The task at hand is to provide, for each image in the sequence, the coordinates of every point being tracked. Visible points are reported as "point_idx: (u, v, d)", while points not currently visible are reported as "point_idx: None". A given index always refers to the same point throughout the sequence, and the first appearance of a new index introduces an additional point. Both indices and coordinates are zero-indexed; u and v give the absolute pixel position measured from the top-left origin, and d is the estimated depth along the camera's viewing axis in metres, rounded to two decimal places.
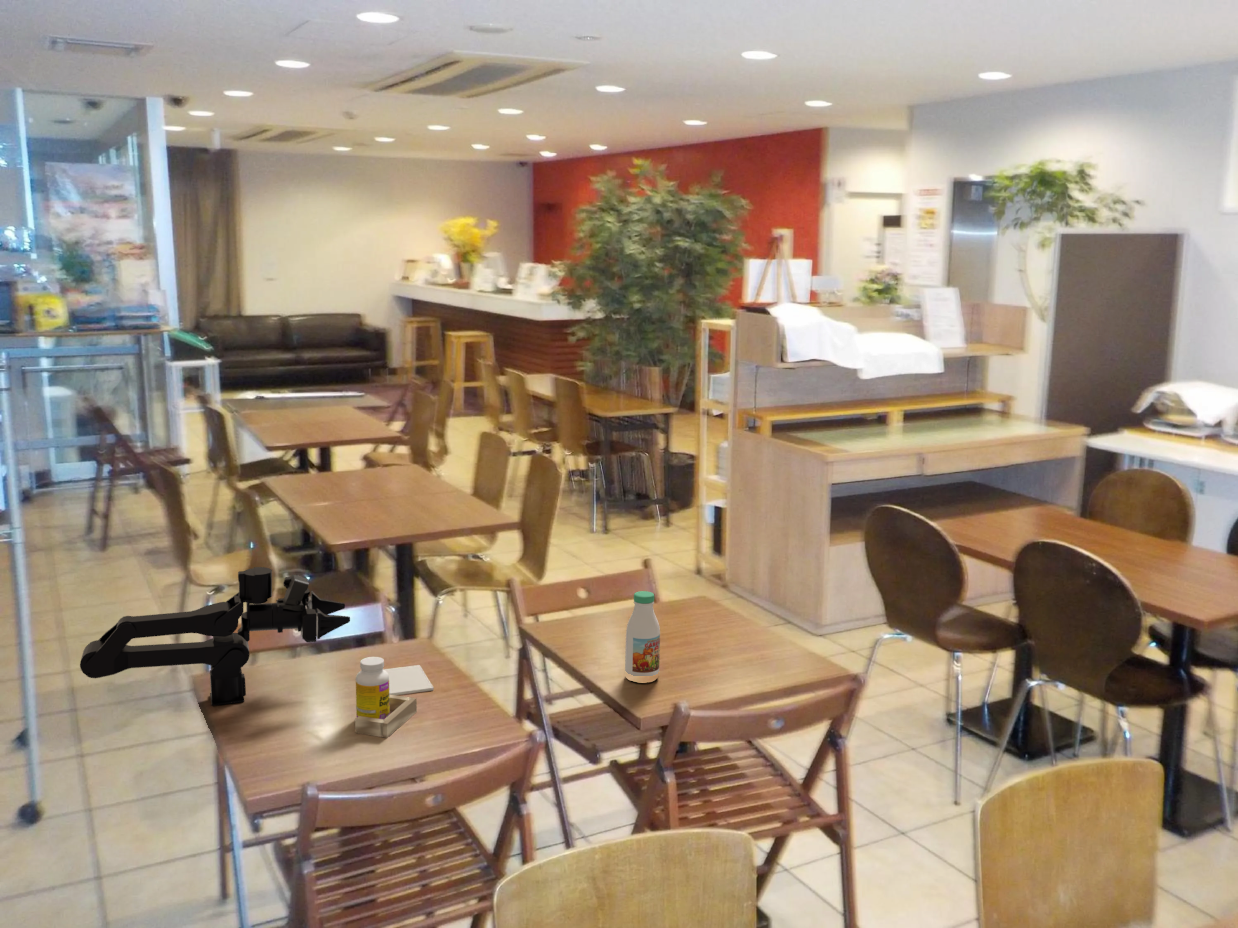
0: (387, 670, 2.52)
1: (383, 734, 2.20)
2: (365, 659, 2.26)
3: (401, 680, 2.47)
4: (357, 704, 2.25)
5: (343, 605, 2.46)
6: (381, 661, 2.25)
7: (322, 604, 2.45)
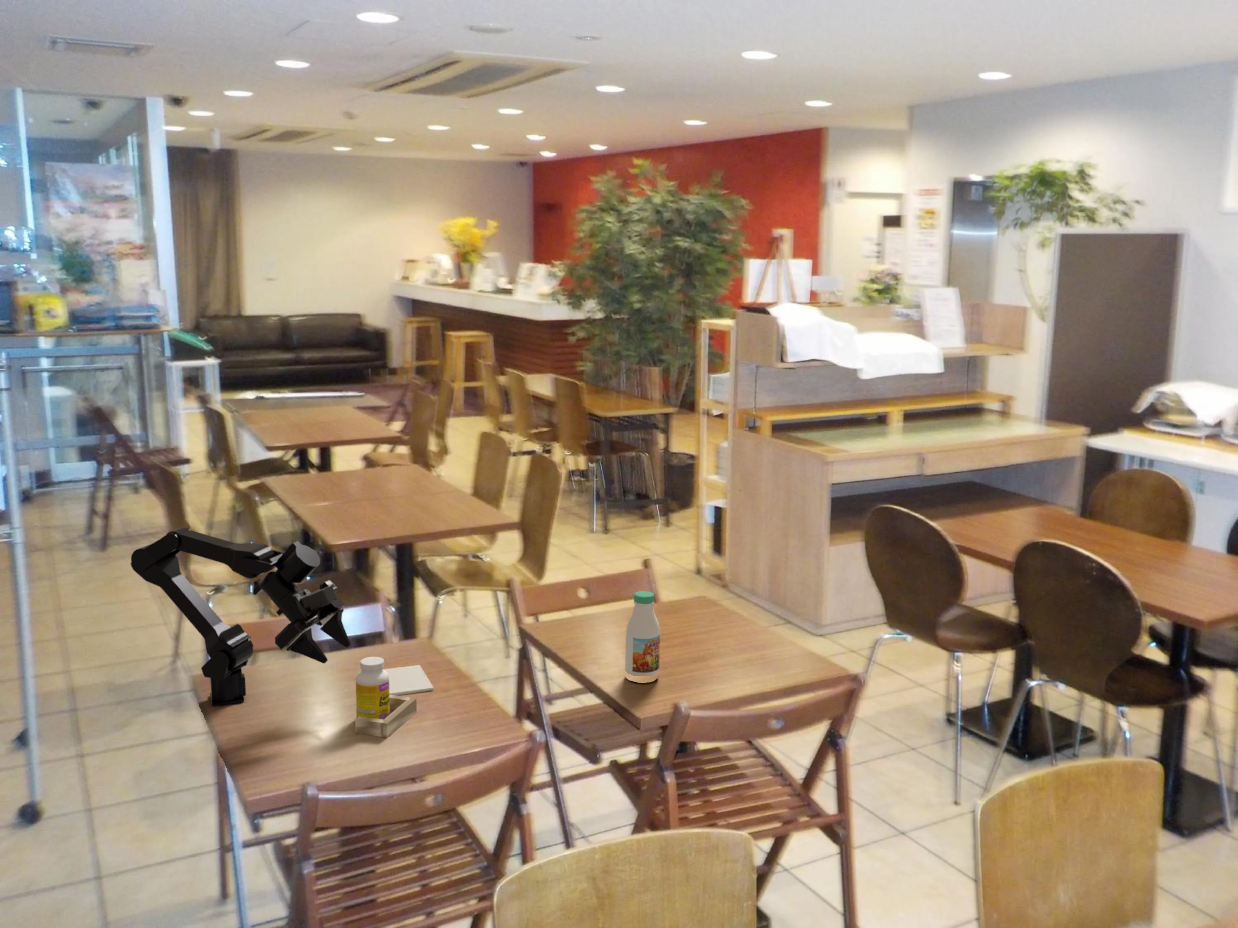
0: (387, 670, 2.52)
1: (383, 734, 2.20)
2: (365, 659, 2.26)
3: (401, 680, 2.47)
4: (357, 704, 2.25)
5: (348, 645, 2.31)
6: (381, 661, 2.25)
7: (336, 627, 2.32)
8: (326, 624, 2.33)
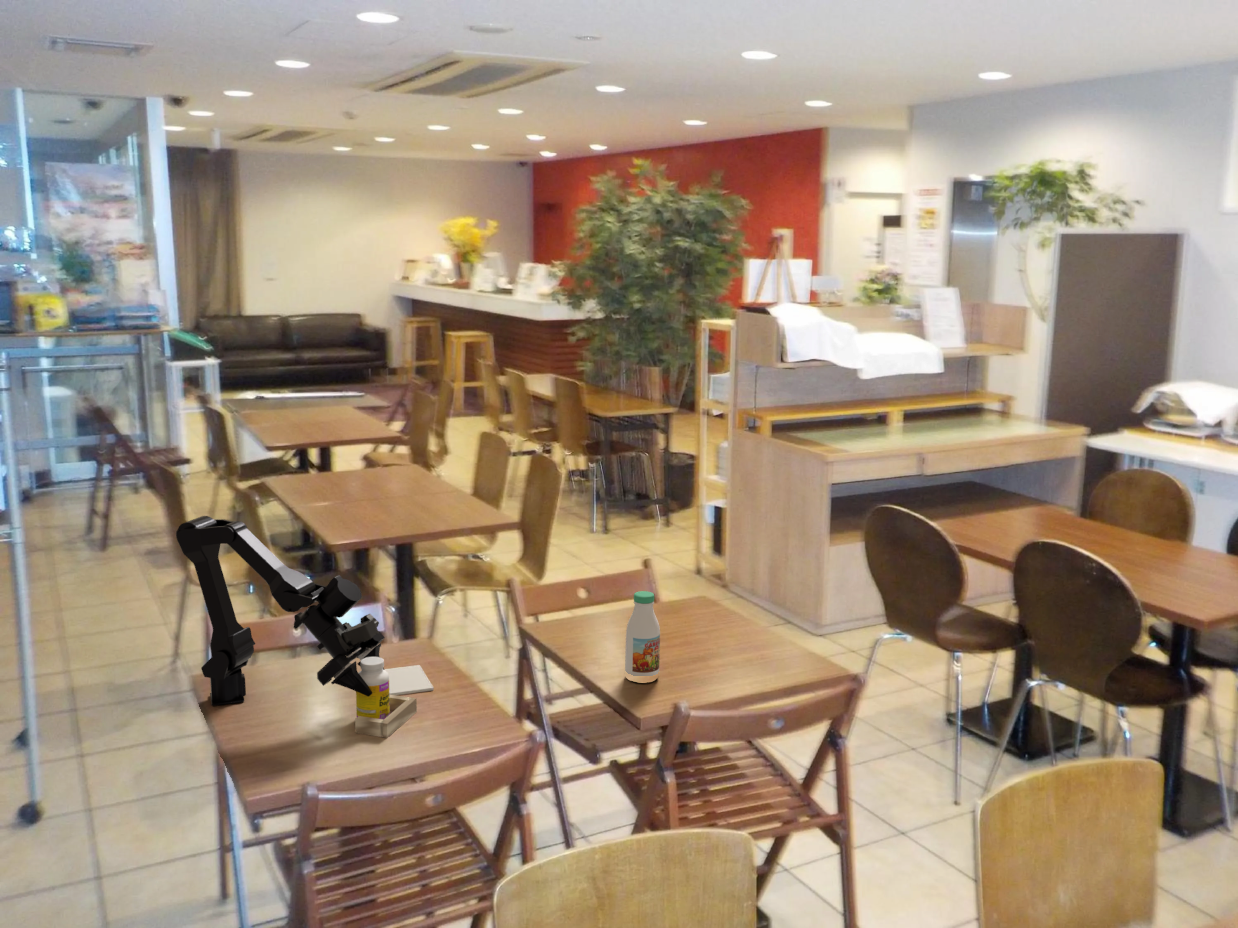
0: (387, 670, 2.52)
1: (383, 734, 2.20)
2: (365, 659, 2.26)
3: (401, 680, 2.47)
4: (357, 704, 2.25)
5: None
6: (381, 661, 2.25)
7: None
8: None
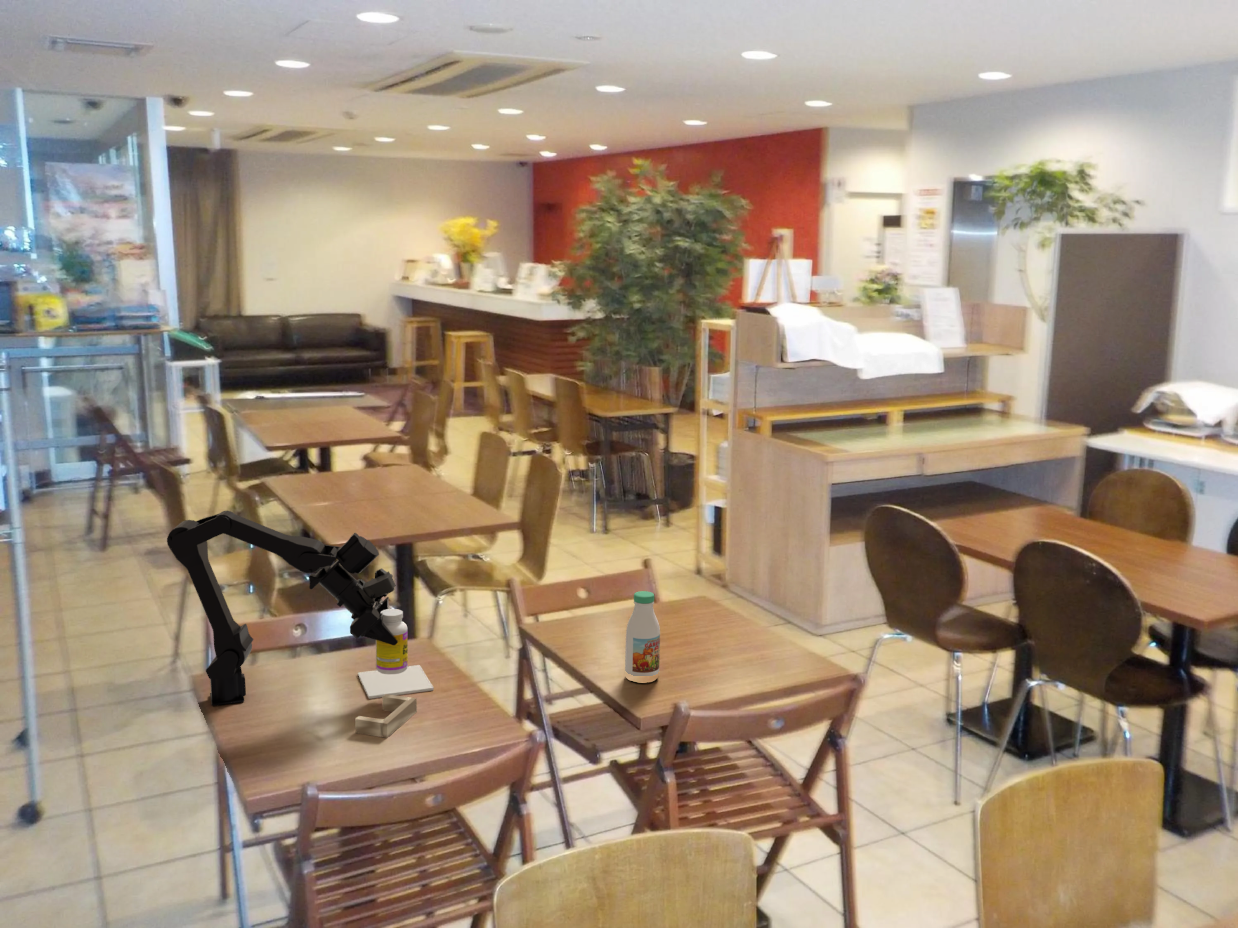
0: None
1: (383, 734, 2.20)
2: (384, 611, 2.36)
3: (401, 680, 2.47)
4: (380, 655, 2.35)
5: None
6: (400, 611, 2.36)
7: None
8: None
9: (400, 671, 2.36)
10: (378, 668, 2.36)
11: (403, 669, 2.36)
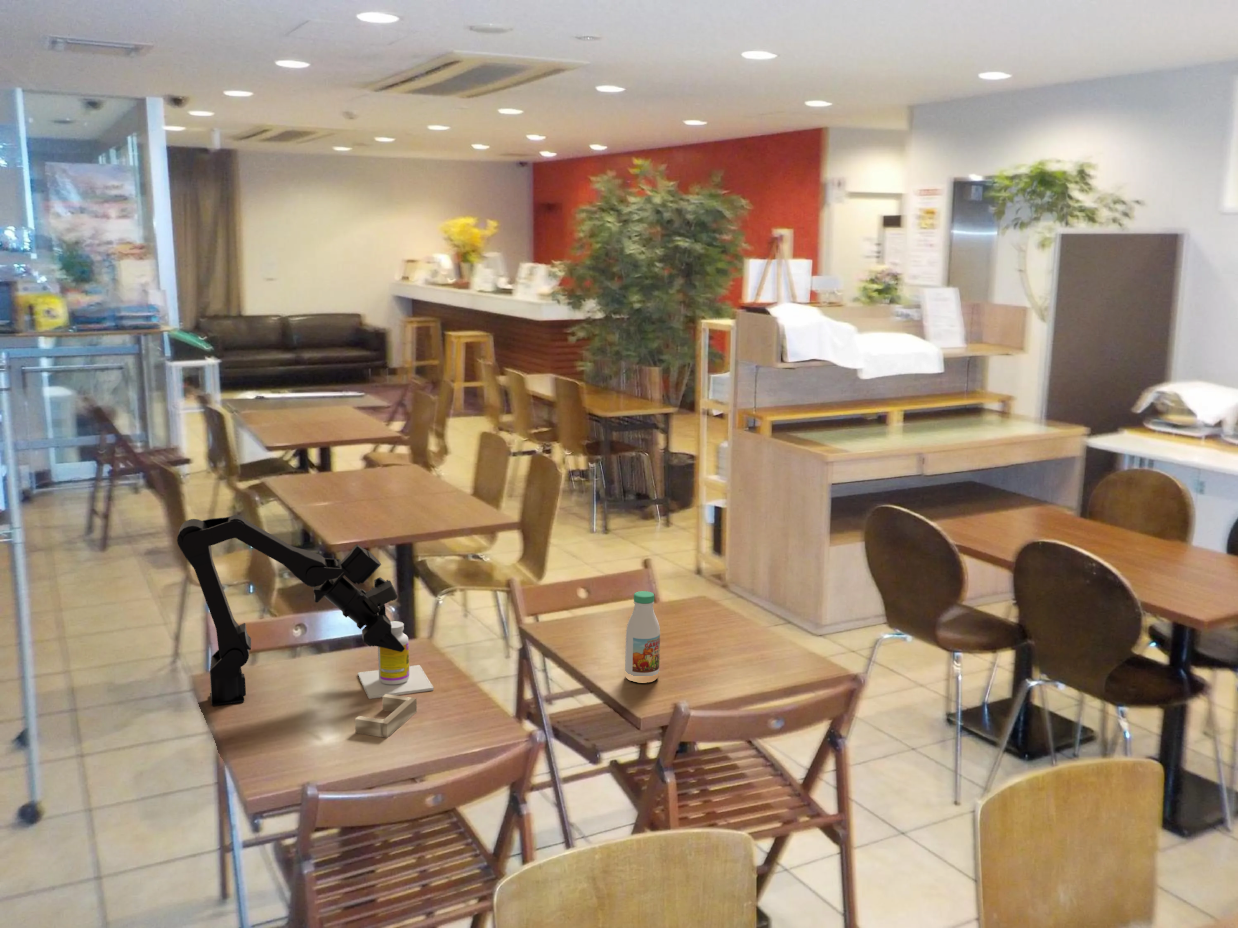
0: None
1: (383, 734, 2.20)
2: None
3: None
4: (385, 666, 2.43)
5: None
6: (401, 623, 2.45)
7: None
8: None
9: (405, 680, 2.45)
10: (383, 679, 2.44)
11: (407, 678, 2.46)
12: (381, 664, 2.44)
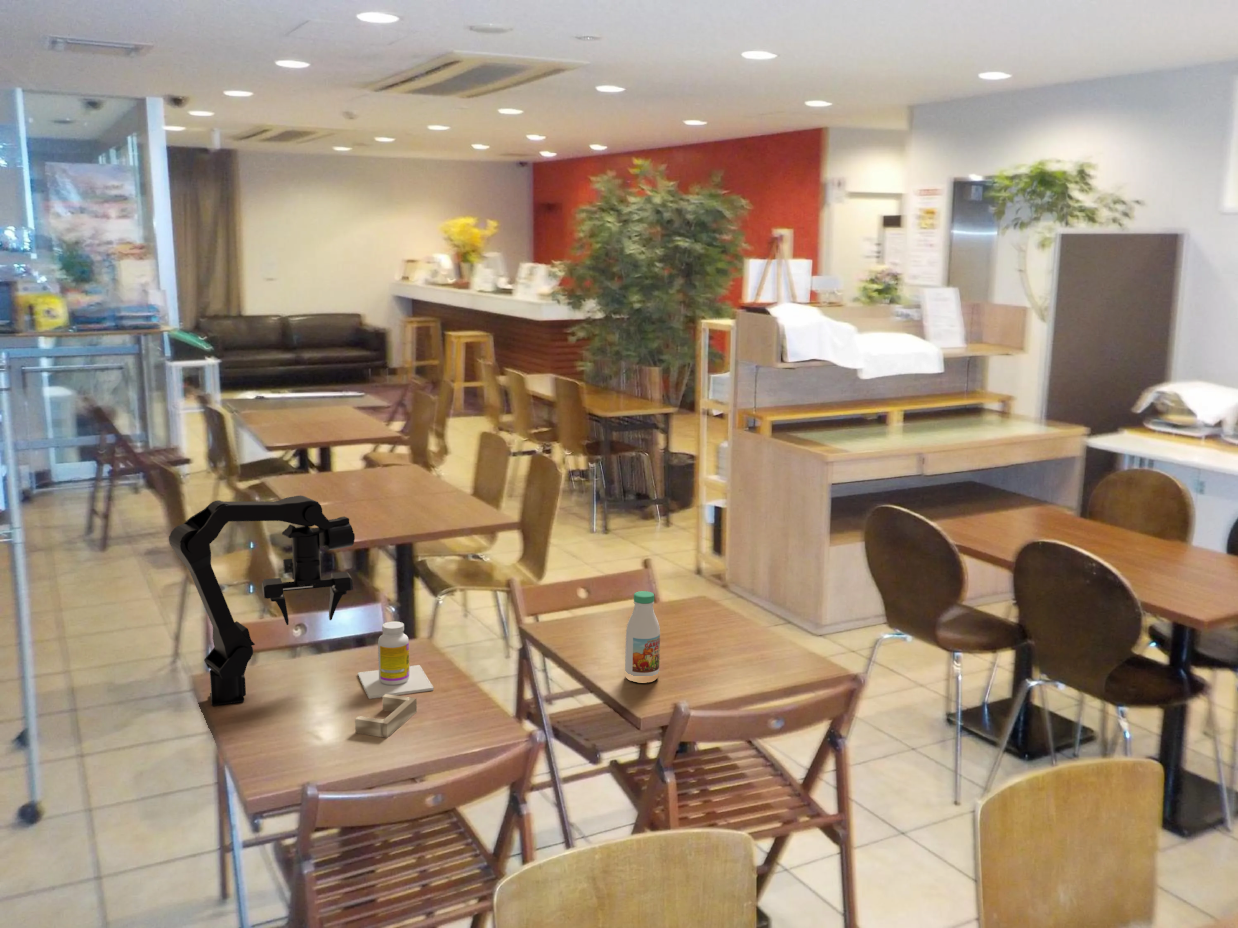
0: None
1: (383, 734, 2.20)
2: (385, 625, 2.44)
3: None
4: (385, 667, 2.43)
5: None
6: (401, 623, 2.45)
7: None
8: (284, 597, 2.42)
9: (405, 680, 2.45)
10: (383, 680, 2.44)
11: (407, 678, 2.46)
12: (381, 664, 2.44)
